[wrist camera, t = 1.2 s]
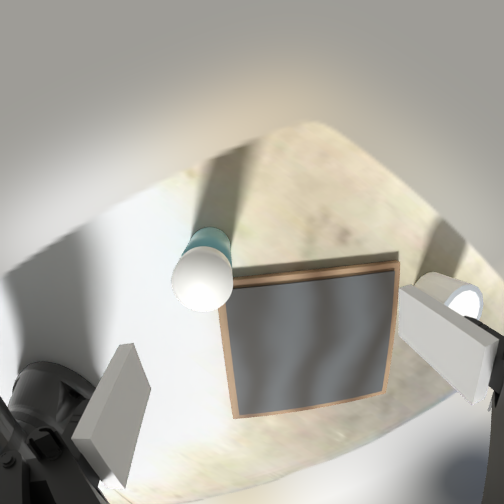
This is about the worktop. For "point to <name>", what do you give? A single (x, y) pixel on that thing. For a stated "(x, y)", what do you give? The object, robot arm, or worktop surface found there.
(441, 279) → the white tapered cup
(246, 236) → the worktop surface
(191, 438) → the worktop surface
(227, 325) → the slate board
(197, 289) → the teal bottle
